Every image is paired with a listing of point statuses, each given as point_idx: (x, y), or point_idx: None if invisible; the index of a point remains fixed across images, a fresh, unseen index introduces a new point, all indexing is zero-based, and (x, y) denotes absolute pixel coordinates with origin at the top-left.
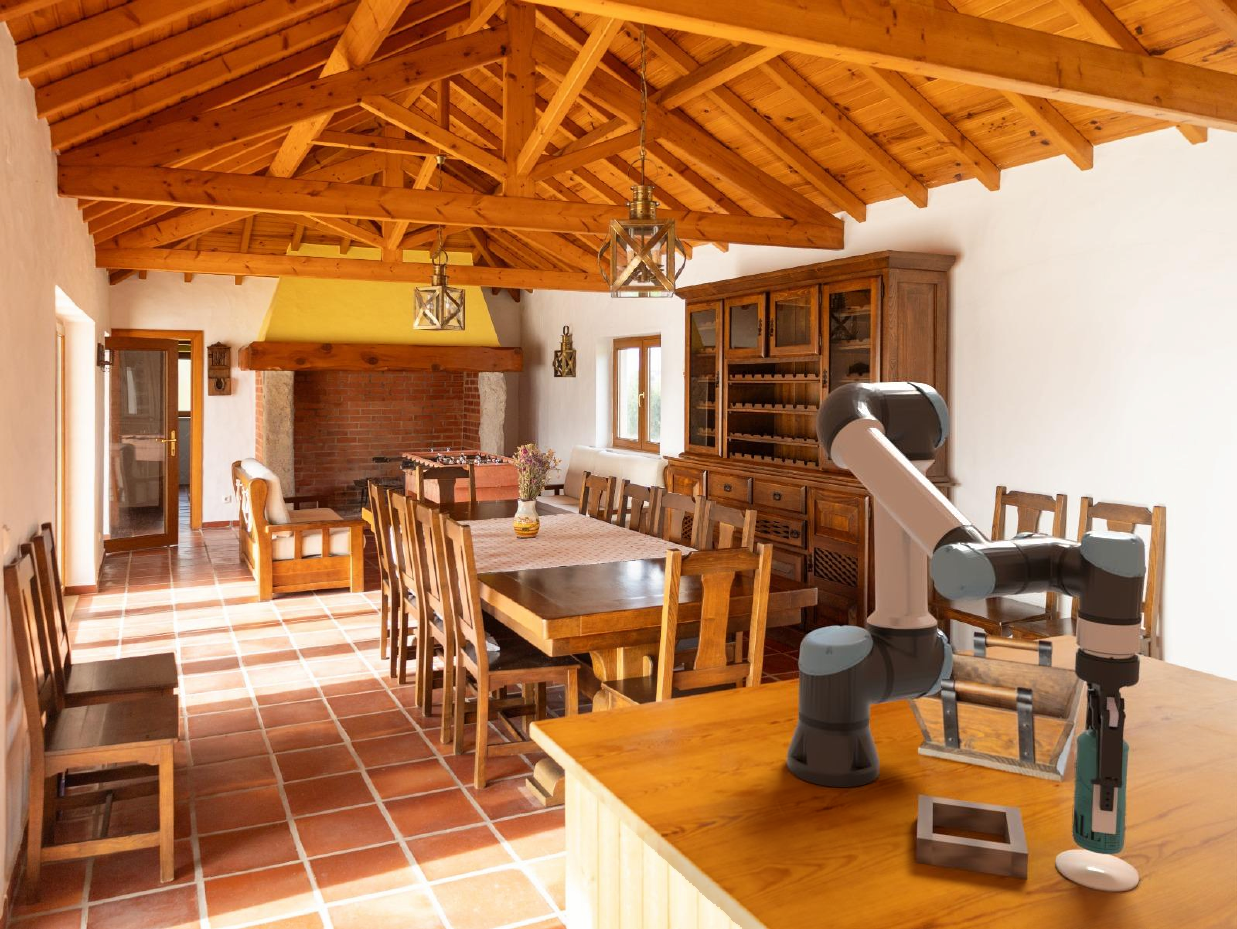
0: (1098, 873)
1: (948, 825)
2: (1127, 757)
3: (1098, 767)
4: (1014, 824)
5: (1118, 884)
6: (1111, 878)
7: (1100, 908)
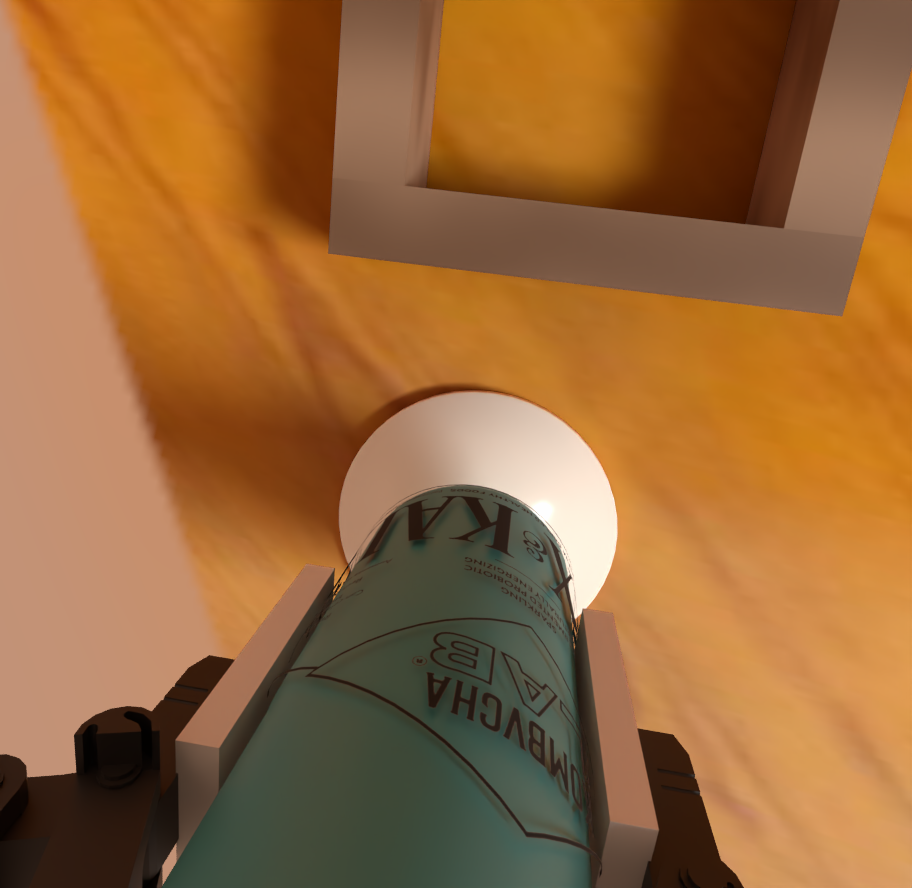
0: None
1: None
2: None
3: (43, 870)
4: (632, 248)
5: None
6: None
7: (224, 463)
